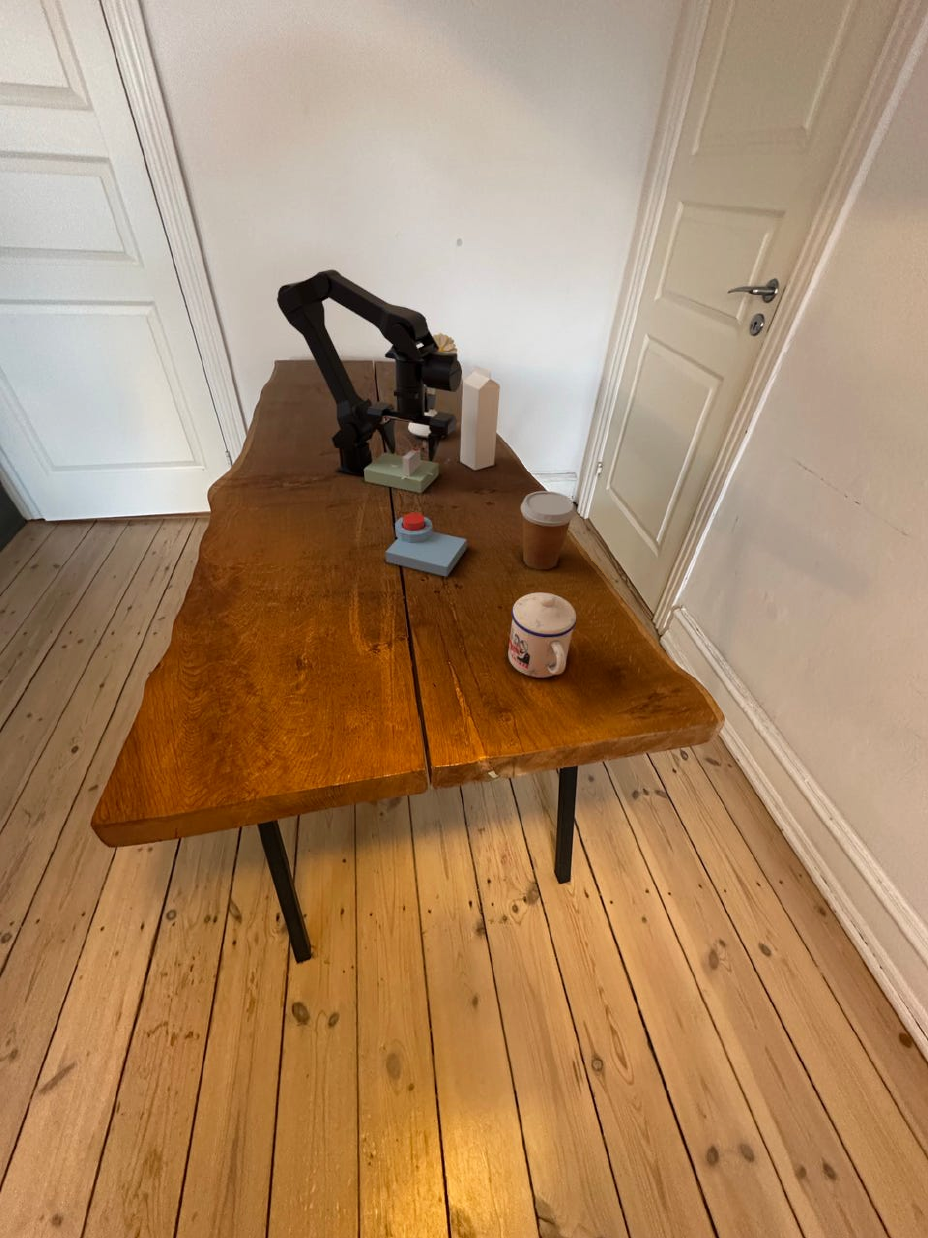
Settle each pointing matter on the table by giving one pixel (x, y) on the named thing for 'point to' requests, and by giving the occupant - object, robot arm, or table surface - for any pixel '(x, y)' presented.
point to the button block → (425, 549)
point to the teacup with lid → (541, 634)
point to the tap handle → (411, 461)
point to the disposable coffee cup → (545, 527)
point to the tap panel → (400, 473)
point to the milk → (479, 419)
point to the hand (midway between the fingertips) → (412, 456)
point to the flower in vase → (446, 347)
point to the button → (413, 522)
